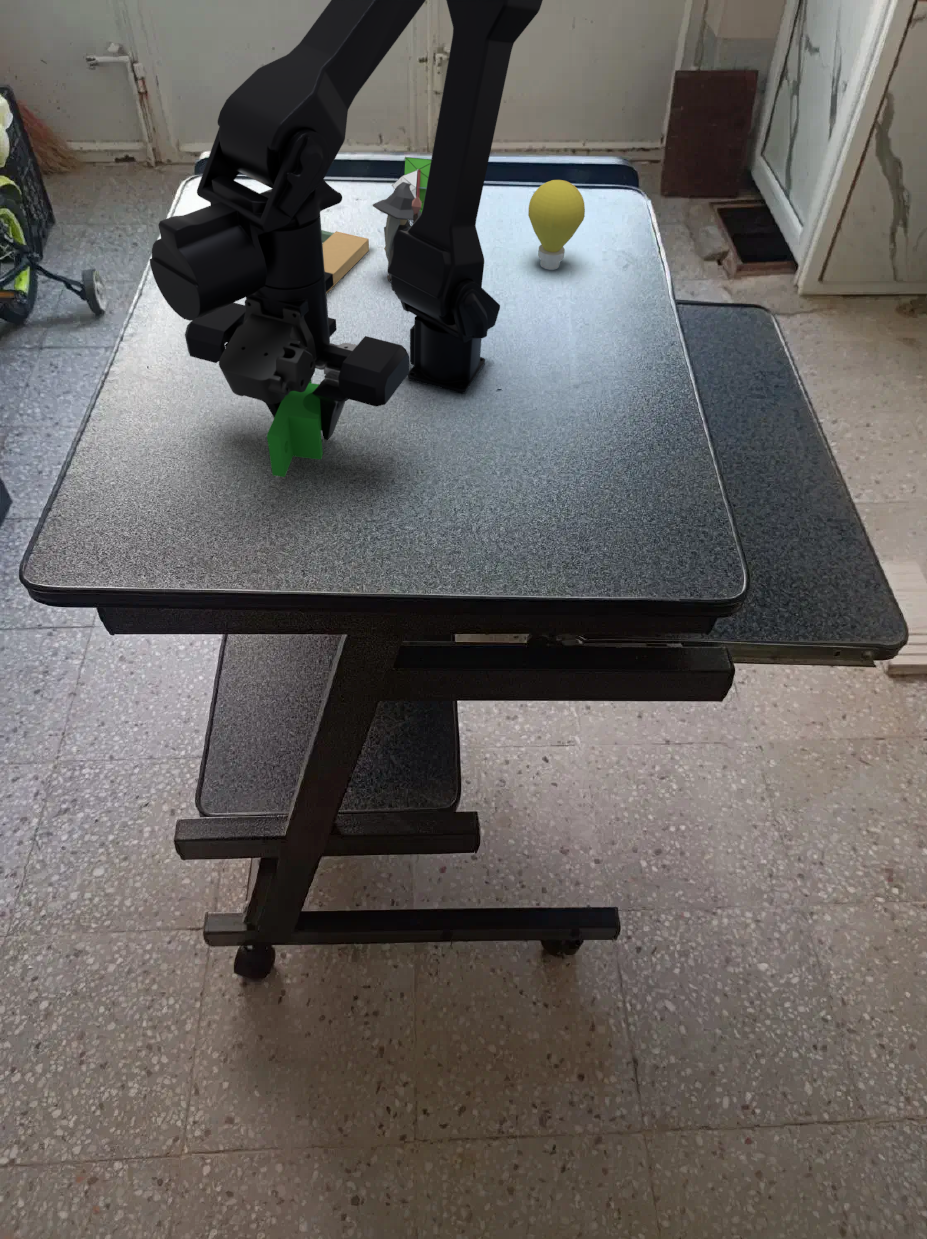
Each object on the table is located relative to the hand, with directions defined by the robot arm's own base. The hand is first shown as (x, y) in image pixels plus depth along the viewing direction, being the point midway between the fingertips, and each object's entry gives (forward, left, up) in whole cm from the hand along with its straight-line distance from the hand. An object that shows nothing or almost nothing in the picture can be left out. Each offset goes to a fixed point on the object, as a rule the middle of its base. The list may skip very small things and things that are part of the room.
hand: (305, 431), depth 83 cm
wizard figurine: (+4, -33, -3) cm, 33 cm away
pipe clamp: (0, 0, -1) cm, 1 cm away
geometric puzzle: (+10, -51, -3) cm, 52 cm away
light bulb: (-10, -45, -3) cm, 46 cm away
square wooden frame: (+19, -31, -2) cm, 36 cm away
